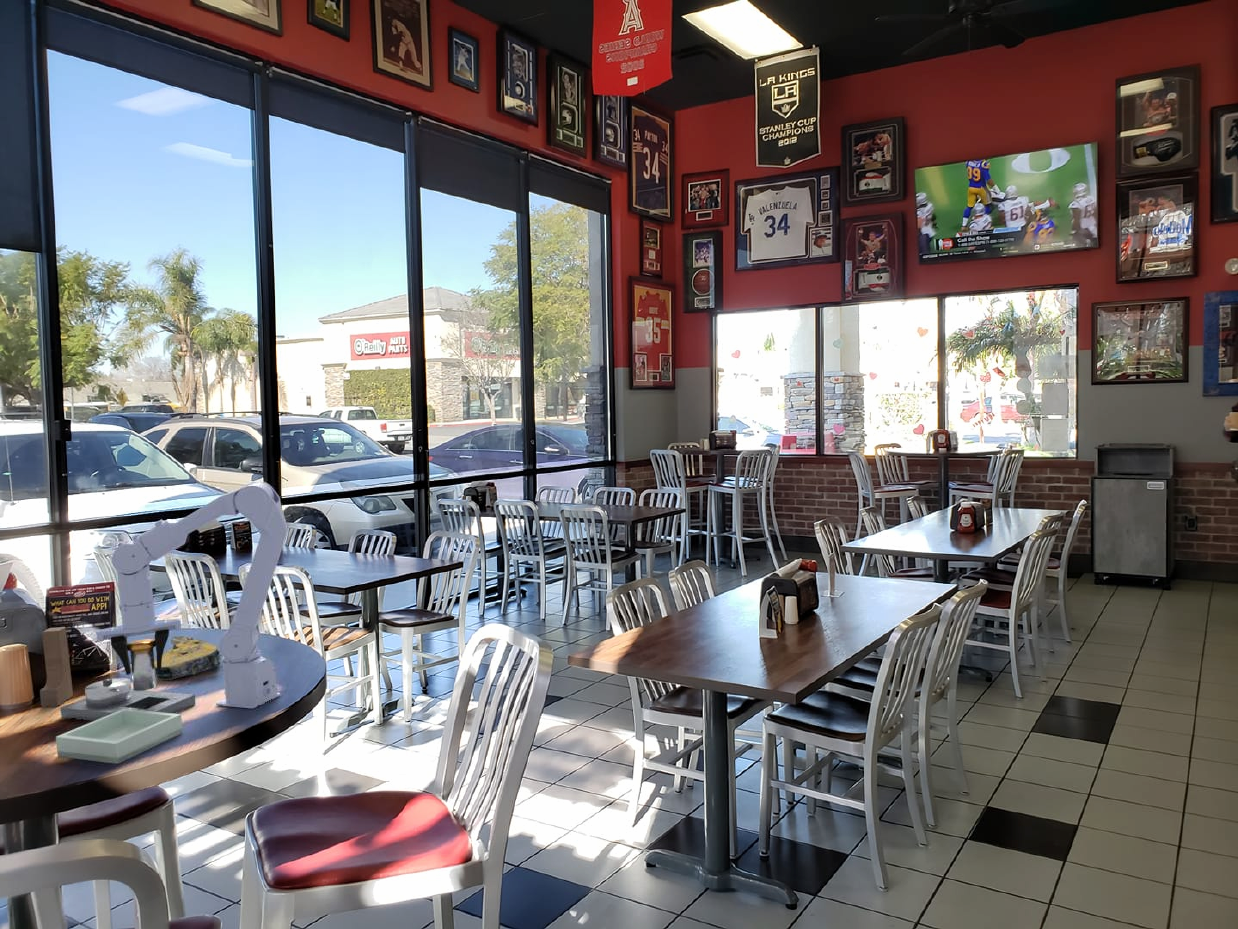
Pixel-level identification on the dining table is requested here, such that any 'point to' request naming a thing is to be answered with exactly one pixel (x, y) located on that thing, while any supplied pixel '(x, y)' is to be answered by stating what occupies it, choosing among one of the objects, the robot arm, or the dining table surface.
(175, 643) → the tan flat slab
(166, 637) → the robot arm
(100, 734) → the tray
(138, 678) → the pin
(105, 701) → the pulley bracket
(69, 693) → the wooden block
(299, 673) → the dining table surface
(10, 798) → the dining table surface
